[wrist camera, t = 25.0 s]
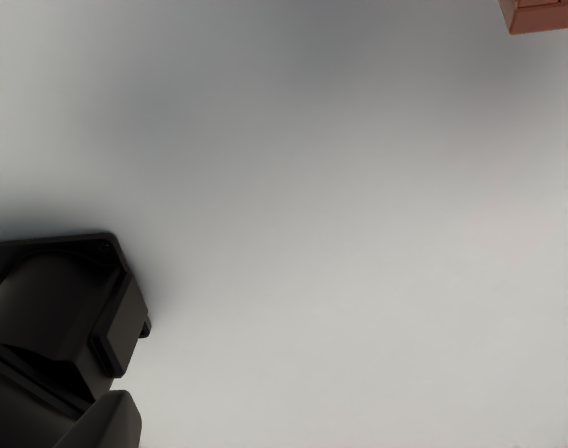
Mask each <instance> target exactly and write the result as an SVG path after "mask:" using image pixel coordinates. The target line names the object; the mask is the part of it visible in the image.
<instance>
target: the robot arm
mask: <svg viewBox="0 0 568 448" xmlns="http://www.w3.org/2000/svg"><path fill="white" fill-rule="evenodd" d="M103 243H106V244H108V245H109V246H105V245H104V244H103ZM147 314H148V309H147V307H146V304H145V302H144V299H143V297H142V294H141V292H140V289H139V287H138V284H137V282H136V279H135V277H134V275H133V274H132V273H131V272H130V271H129V268H128V266H127V263H126V261H125V259H124V256H123V254H122V251H121V249H120V246H119V244H118V241H117V239H116V238H115V237H114V236H113V235H111V234H108V233H99V234H87V235H75V236H63V237H51V238H39V239H27V240H15V241H3V242H0V448H139V441H140V435H141V428H142V421H141V416H140V413H139V411H138V409H137V407H136V405H135V403H134V401H133V399H132V397H131V395H130V393H129V392H128V391H126V390H111V391H109V390H110V388H111V385H112V382H113V380H114V378H122V376H123V375H124V374H125V372H126V370H127V367H128V364H129V362H130V359H131V356H132V354H133V351H134V348H135V346H136V343H137V340H138V338H146V337H147V336H149V334H150V331H151V328H152V327H151V323H150V321H149V318H148V316H147Z"/></svg>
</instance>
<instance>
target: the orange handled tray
mask: <svg viewBox="0 0 568 448" xmlns="http://www.w3.org/2000/svg"><path fill="white" fill-rule="evenodd" d="M498 1H499V5H500V8H501V11H502V14H503V17H504V20H505V23H506V26H507V29H508V32H509V34H510V35H519V34H527V33H536V32H544V31H552V30H560V29H568V0H498Z"/></svg>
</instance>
